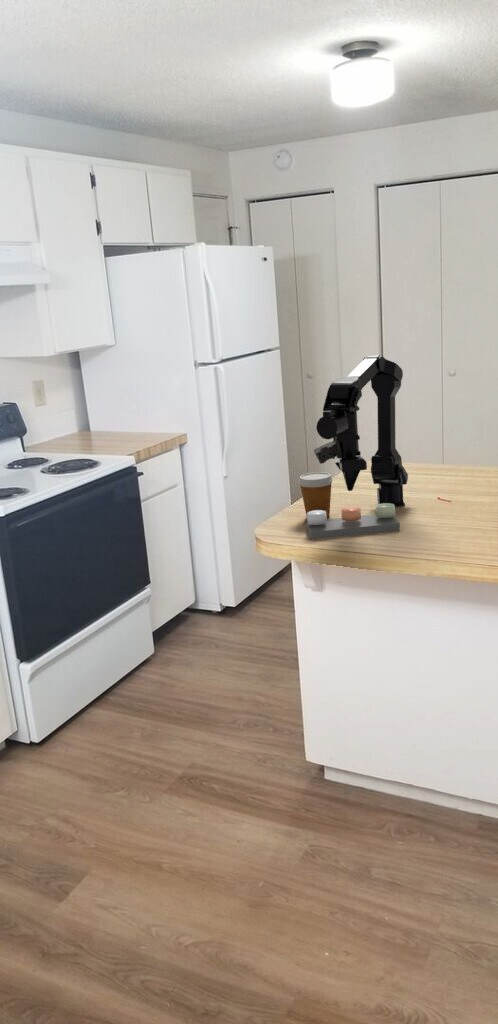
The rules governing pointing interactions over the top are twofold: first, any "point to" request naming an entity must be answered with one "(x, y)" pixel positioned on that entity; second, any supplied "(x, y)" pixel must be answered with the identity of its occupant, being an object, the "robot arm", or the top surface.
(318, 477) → the disposable coffee cup
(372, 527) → the panel
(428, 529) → the top surface
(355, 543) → the top surface
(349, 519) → the button terracotta
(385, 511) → the button sage
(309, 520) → the button bluegrey
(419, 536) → the top surface
